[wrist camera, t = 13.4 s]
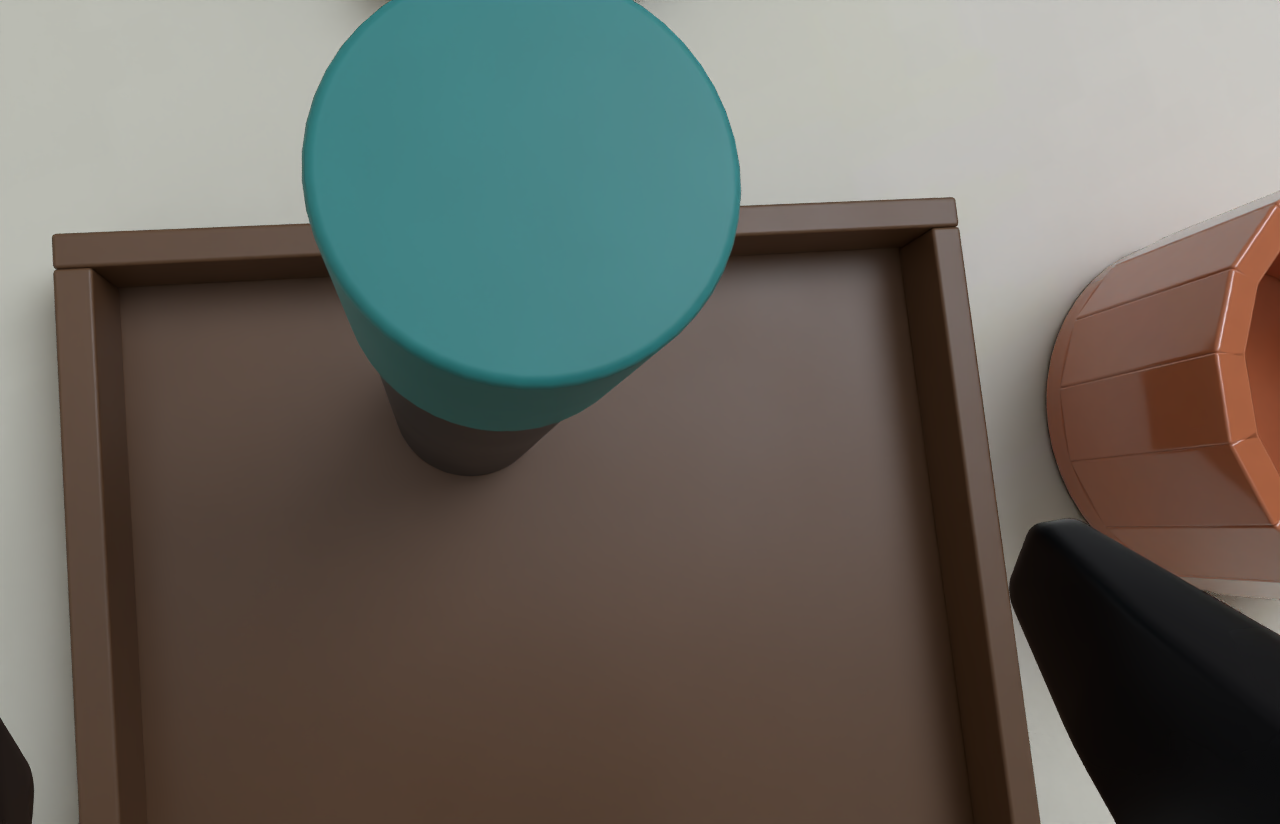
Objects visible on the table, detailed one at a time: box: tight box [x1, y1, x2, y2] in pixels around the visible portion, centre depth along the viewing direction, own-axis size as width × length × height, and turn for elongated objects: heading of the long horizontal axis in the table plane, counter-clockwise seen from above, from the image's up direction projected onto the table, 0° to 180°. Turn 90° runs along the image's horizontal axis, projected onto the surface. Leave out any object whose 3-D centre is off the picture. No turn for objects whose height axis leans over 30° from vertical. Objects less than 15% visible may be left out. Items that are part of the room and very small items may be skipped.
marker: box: [302, 0, 741, 476], centre depth 13 cm, size 3×3×12 cm
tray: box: [52, 197, 1040, 824], centre depth 18 cm, size 15×16×2 cm
